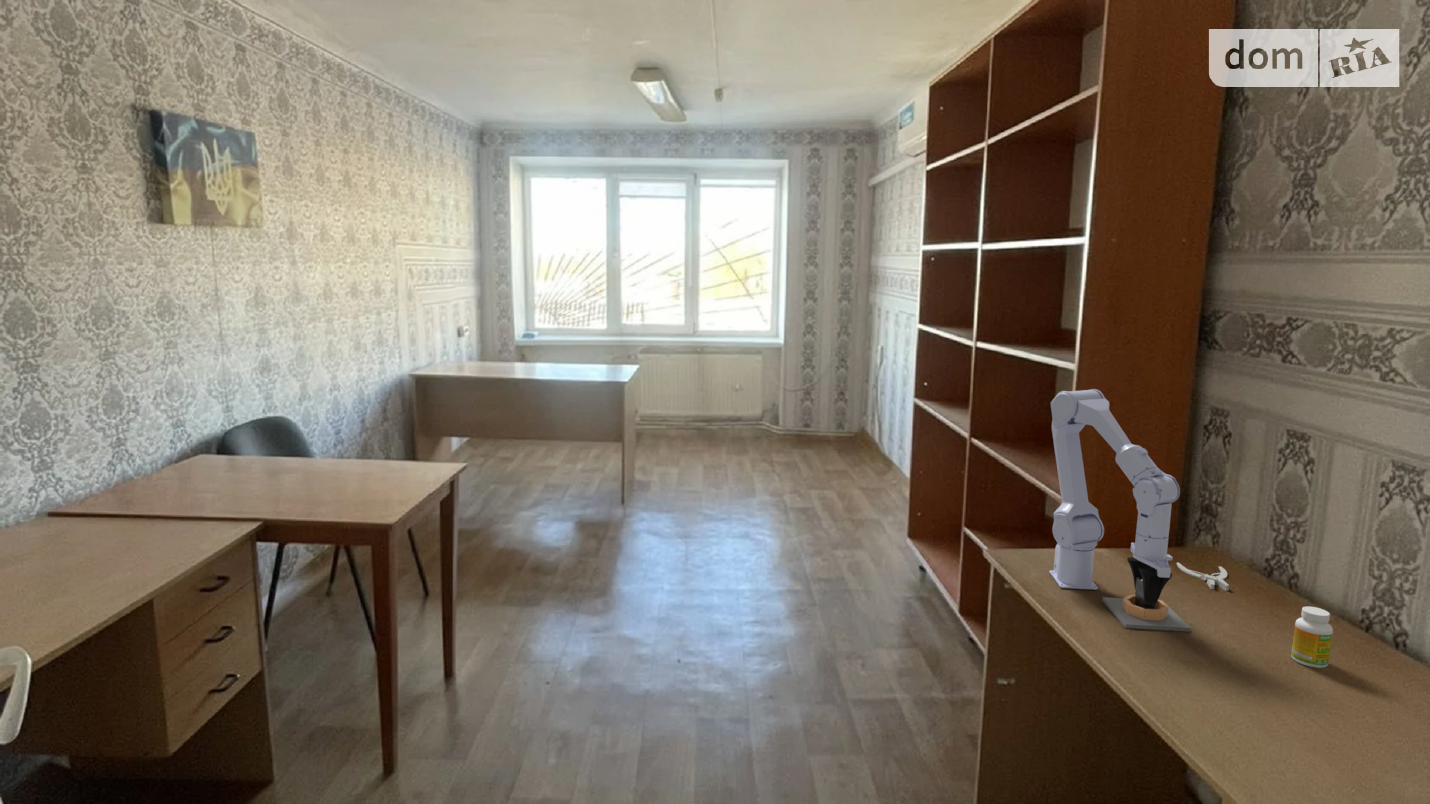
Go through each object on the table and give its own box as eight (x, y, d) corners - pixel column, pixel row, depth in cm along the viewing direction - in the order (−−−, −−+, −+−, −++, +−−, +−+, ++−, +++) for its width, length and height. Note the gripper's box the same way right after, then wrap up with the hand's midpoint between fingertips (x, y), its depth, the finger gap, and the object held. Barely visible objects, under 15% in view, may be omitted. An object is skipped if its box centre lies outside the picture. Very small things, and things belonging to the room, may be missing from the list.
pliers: (1222, 563, 184) (1246, 587, 170) (1221, 569, 184) (1245, 594, 170) (1176, 558, 186) (1195, 582, 172) (1175, 565, 187) (1194, 589, 173)
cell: (1131, 600, 160) (1133, 573, 159) (1151, 601, 160) (1154, 574, 159) (1138, 608, 156) (1141, 580, 155) (1160, 610, 156) (1162, 581, 155)
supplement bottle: (1318, 671, 136) (1325, 619, 135) (1284, 658, 141) (1291, 608, 139) (1334, 664, 139) (1341, 613, 137) (1300, 651, 143) (1307, 602, 142)
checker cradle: (1102, 600, 166) (1103, 588, 165) (1162, 604, 164) (1163, 591, 163) (1125, 627, 153) (1126, 614, 152) (1190, 631, 151) (1191, 618, 151)
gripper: (1190, 547, 148) (1183, 614, 150) (1158, 523, 162) (1152, 584, 164) (1150, 545, 149) (1144, 611, 151) (1122, 522, 163) (1117, 582, 165)
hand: (1146, 597), depth 158 cm, fingers closed on cell, 4 cm apart
